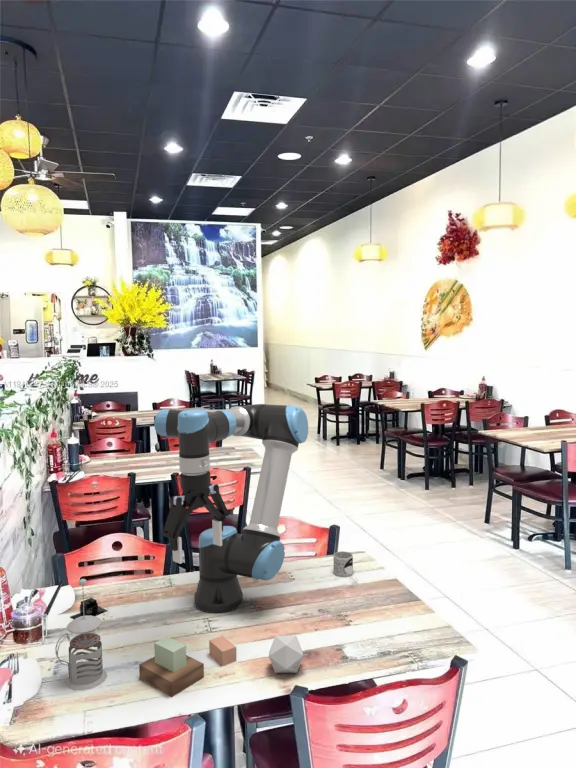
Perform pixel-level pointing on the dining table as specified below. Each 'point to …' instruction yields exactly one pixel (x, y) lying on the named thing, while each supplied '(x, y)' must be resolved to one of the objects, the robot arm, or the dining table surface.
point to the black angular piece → (89, 609)
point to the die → (285, 654)
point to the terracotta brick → (222, 650)
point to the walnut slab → (171, 675)
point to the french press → (87, 671)
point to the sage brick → (170, 654)
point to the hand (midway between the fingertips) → (198, 553)
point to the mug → (343, 564)
